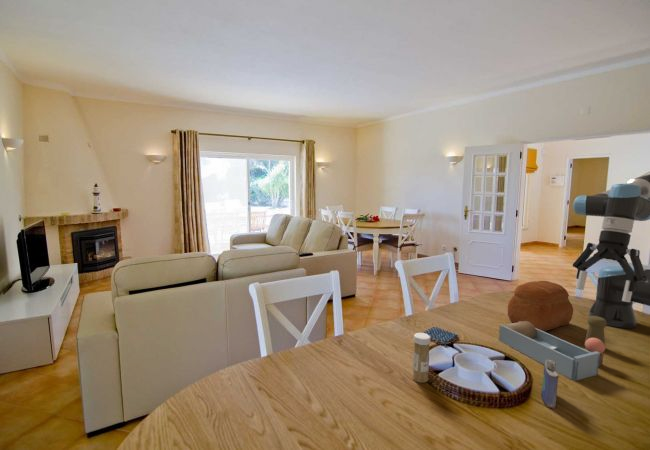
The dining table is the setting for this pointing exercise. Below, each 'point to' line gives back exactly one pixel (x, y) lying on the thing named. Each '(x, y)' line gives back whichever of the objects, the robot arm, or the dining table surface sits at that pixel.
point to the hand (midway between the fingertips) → (601, 295)
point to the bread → (541, 305)
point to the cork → (596, 328)
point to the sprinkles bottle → (421, 357)
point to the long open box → (550, 350)
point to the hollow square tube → (600, 359)
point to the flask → (549, 384)
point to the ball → (594, 345)
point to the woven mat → (441, 335)
